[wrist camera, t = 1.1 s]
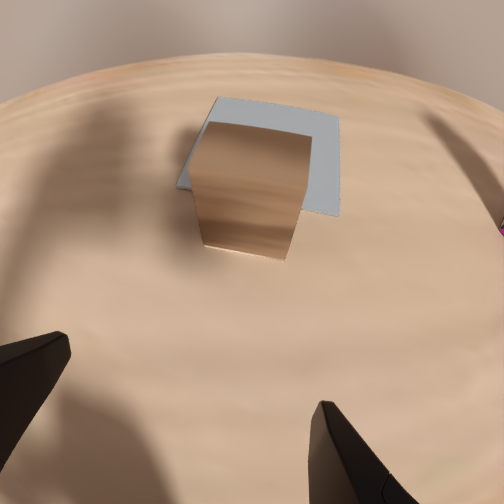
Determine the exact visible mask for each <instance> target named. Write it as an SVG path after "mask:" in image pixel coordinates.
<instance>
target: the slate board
mask: <svg viewBox="0 0 504 504" xmlns="http://www.w3.org/2000/svg"><path fill="white" fill-rule="evenodd" d="M209 121H213V122H223V123H231V124H239V125H247V126H254V127H261V128H267V129H273V130H279V131H285V132H291V133H296V134H301V135H306V136H311V137H312V146H311V157H310V168H309V178H308V187H307V191H306V194H305V197H304V201H303V204H302V207H301V209H303V210H308V211H313V212H318V213H323V214H328V215H333V216H337V217H338V216H339V214H340V129H339V116H335V115H331V114H326V113H322V112H317V111H312V110H307V109H302V108H297V107H291V106H286V105H280V104H273V103H267V102H260V101H252V100H244V99H236V98H226V97H218V99H217V100H216V102H215V104H214V106H213V108H212V110H211V112H210V114H209V116H208V118H207V120H206V122H205V124H204V126H203V128H202V130H201V132H200V134H199V136H198V138H197V140H196V142H195V144H194V147H193V149H192V151H191V153H190V155H189V157H188V159H187V162H186V164H185V166H184V168H183V171H182V173H181V175H180V177H179V180H178V182H177V184H176V188H180V189H187V190H192V187H191V182H190V177H189V172H188V165H189V163H190V161H191V159H192V156H193V154H194V152H195V150H196V148H197V145H198V143H199V141H200V139H201V137H202V135H203V133H204V131H205V129H206V126H207V124H208V122H209Z"/></svg>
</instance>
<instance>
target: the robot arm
mask: <svg viewBox="0 0 504 504" xmlns="http://www.w3.org/2000/svg"><path fill="white" fill-rule="evenodd" d="M70 357H71V349H70V344H69V339H68V336H67V335H66V334H64V333H62V332H60V331H55V332H52V333H48V334H44V335H40V336H37V337H33V338H29V339H25V340H21V341H18V342H14V343H10V344H6V345H2V346H0V472H1V470H2V469H3V467H4V465H5V463H6V461H7V460H8V458H9V456H10V455H11V453H12V451H13V450H14V448H15V446H16V445H17V443H18V441H19V440H20V438H21V436H22V435H23V433H24V432H25V430H26V429H27V427H28V425H29V424H30V422H31V421H32V419H33V418H34V416H35V415H36V413H37V412H38V410H39V409H40V407H41V406H42V404H43V403H44V401H45V400H46V398H47V397H48V395H49V394H50V393H51V391H52V389H53V388H54V386H55V384H56V383H57V381H58V379H59V377H60V375H61V374H62V372H63V370H64V368H65V367H66V365H67V363H68V361H69V360H70ZM389 473H390V472H389V471H388V469H387V468H386V467H385V466H384V465H383V463H382V462H381V461H380V460H379V458H378V457H377V456H376V455H375V453H374V452H373V451H372V450H371V449H370V447H369V446H368V445H367V444H366V442H365V441H364V440H363V439H362V437H361V436H360V435H359V434H358V432H357V431H356V430H355V429H354V427H353V426H352V425H351V424H350V422H349V421H348V420H347V419H346V417H345V416H344V415H343V413H342V412H341V411H340V410H339V408H338V407H337V406H336V405H335V403H334V402H332V401H320V402H319V404H318V406H317V408H316V410H315V413H314V415H313V417H312V420H311V431H310V444H309V456H308V476H309V504H419V503H418V502H417V501H416V500H415V499H414V498H413V497H412V496H411V495H410V494H409V493H408V492H407V491H406V490H405V489H404V488H403V487H402V486H401V485H400V484H399V482H398V481H397V480H396V479H395V478H394V476H393V475H392V474H391V473H390V474H389Z"/></svg>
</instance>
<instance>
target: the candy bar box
mask: <svg viewBox="0 0 504 504" xmlns="http://www.w3.org/2000/svg"><path fill="white" fill-rule="evenodd" d="M499 230H500V232H501V233H502V234H503V236H504V219H503V222H502V224H501V226H500V229H499Z"/></svg>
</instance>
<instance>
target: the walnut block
mask: <svg viewBox="0 0 504 504" xmlns="http://www.w3.org/2000/svg"><path fill="white" fill-rule="evenodd" d="M311 146H312V137H311V136H306V135H301V134H296V133H291V132H285V131H279V130H273V129H267V128H261V127H254V126H247V125H239V124H231V123H223V122H213V121H209V122H208V124H207V126H206V129H205V131H204V133H203V135H202V137H201V139H200V141H199V143H198V145H197V148H196V150H195V152H194V154H193V156H192V159H191V161H190V163H189V165H188V172H189V177H190V182H191V187H192V192H193V197H194V201H195V206H196V211H197V215H198V220H199V225H200V229H201V234H202V238H203V243H204V247H210V248H215V249H220V250H225V251H231V252H236V253H241V254H247V255H252V256H257V257H263V258H268V259H273V260H279V261H284V262H285V259H286V255H287V252H288V249H289V246H290V243H291V240H292V236H293V233H294V230H295V227H296V224H297V220H298V217H299V214H300V211H301V207H302V204H303V201H304V197H305V194H306V191H307V187H308V178H309V168H310V157H311Z"/></svg>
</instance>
